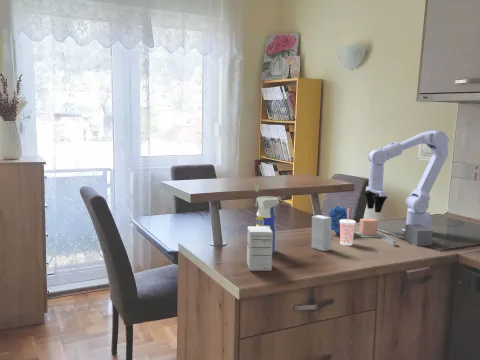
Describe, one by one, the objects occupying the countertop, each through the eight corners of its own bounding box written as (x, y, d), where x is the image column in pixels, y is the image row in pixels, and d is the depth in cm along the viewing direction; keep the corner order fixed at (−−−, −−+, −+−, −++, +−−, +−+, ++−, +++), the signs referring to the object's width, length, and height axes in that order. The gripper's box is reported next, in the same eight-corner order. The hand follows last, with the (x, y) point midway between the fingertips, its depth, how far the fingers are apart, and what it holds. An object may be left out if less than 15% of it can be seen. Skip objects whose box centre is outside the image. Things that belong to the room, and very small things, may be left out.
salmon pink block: (372, 232, 191) (373, 218, 190) (376, 235, 187) (377, 220, 186) (359, 232, 190) (359, 218, 190) (362, 235, 186) (363, 221, 186)
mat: (373, 231, 194) (374, 231, 194) (382, 237, 185) (382, 236, 185) (353, 231, 193) (353, 231, 193) (361, 237, 184) (361, 236, 184)
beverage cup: (334, 242, 176) (336, 207, 174) (346, 240, 179) (348, 206, 177) (345, 246, 170) (347, 210, 168) (357, 244, 173) (360, 209, 171)
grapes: (333, 237, 183) (334, 208, 181) (323, 233, 189) (324, 205, 187) (355, 234, 188) (357, 206, 186) (345, 230, 194) (346, 203, 192)
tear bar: (384, 239, 182) (384, 234, 182) (395, 246, 173) (395, 241, 172) (381, 239, 182) (382, 234, 182) (393, 246, 172) (393, 241, 172)
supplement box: (246, 263, 149) (247, 225, 147) (268, 263, 149) (269, 225, 148) (248, 271, 142) (249, 231, 140) (272, 270, 142) (273, 231, 140)
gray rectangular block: (418, 238, 184) (419, 224, 183) (431, 245, 174) (432, 230, 173) (404, 238, 183) (405, 224, 183) (416, 245, 174) (417, 230, 173)
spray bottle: (267, 256, 157) (269, 184, 153) (248, 250, 163) (250, 181, 159) (281, 251, 163) (284, 182, 159) (263, 246, 169) (265, 179, 165)
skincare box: (331, 249, 166) (332, 217, 165) (323, 251, 163) (324, 219, 162) (318, 245, 171) (319, 214, 169) (310, 247, 168) (311, 215, 166)
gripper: (360, 176, 197) (358, 206, 199) (374, 181, 183) (372, 214, 185) (375, 176, 198) (373, 206, 200) (390, 181, 184) (388, 213, 186)
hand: (374, 210), depth 193 cm, fingers open, 7 cm apart
